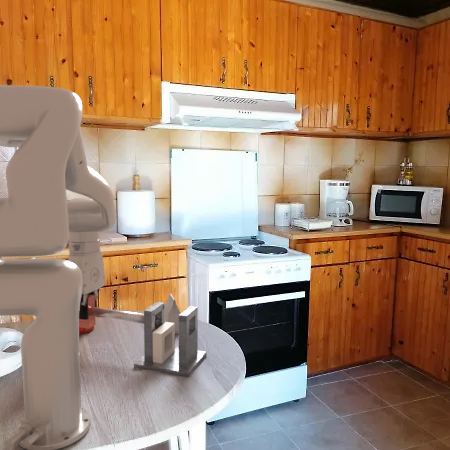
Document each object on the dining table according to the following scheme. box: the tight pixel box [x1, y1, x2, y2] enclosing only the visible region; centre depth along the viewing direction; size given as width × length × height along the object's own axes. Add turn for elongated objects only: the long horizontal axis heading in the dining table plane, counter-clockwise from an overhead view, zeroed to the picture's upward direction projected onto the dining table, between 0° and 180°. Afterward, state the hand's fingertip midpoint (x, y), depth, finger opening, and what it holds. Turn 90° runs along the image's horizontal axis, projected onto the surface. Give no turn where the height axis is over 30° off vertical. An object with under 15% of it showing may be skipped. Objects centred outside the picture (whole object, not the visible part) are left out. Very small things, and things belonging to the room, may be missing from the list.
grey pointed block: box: [164, 293, 182, 334], centre depth 125 cm, size 4×7×10 cm, turn 18°
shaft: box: [79, 294, 157, 329], centre depth 109 cm, size 3×21×8 cm, turn 72°
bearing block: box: [133, 301, 207, 378], centre depth 105 cm, size 12×14×14 cm
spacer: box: [153, 322, 176, 363], centre depth 105 cm, size 7×2×7 cm, turn 162°
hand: (86, 315), depth 111 cm, fingers closed on shaft, 3 cm apart
